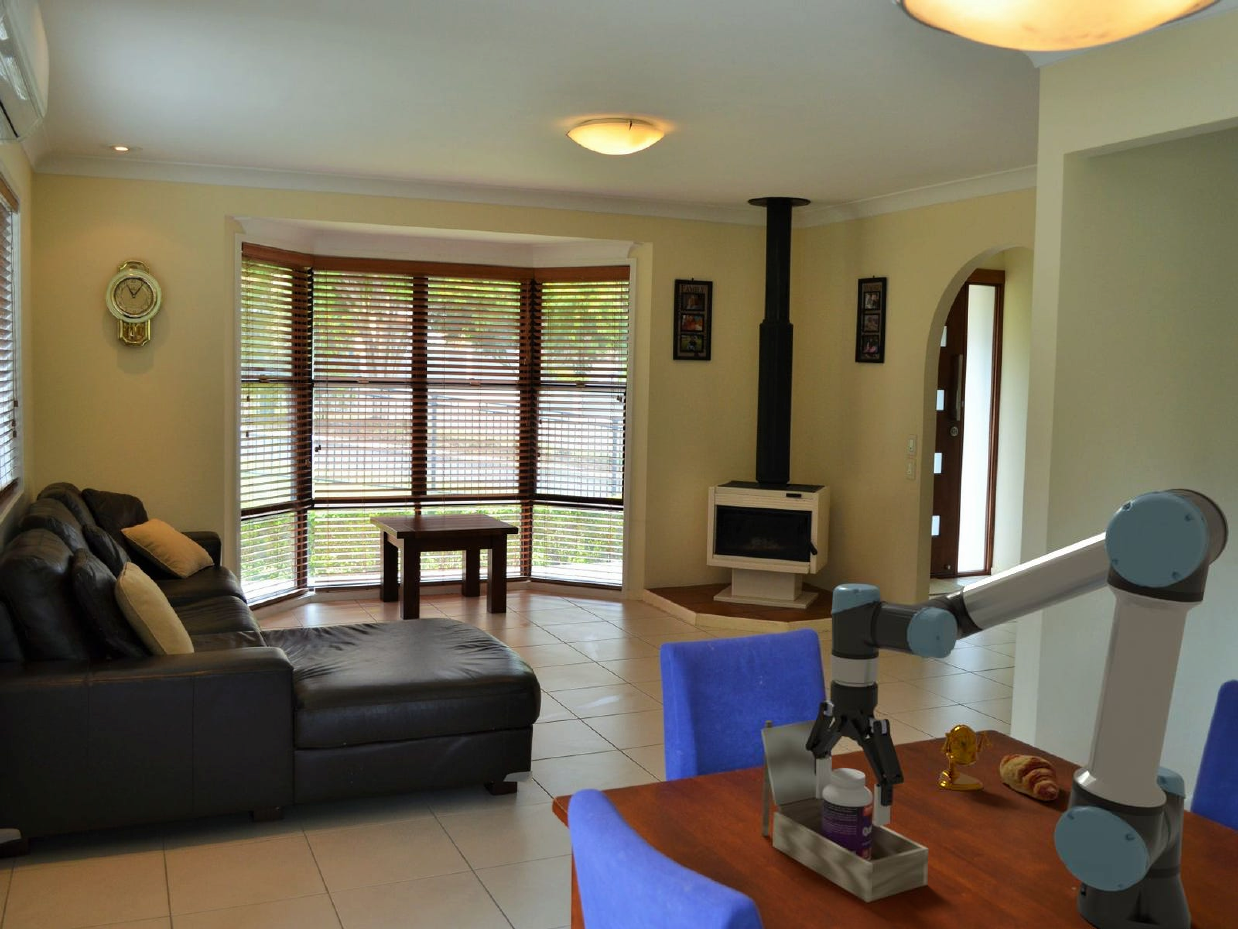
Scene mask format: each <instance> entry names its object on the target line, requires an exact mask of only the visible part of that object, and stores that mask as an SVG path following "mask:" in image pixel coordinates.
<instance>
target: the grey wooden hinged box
mask: <svg viewBox="0 0 1238 929" xmlns="http://www.w3.org/2000/svg"><path fill="white" fill-rule="evenodd" d="M815 721H816V719H812V720H807V721H801V722H795V723H789V724H785V725H778V726H774V724H773V721H772V720H765V726H764V728H762V729H760V732H761V737H762V743H763V749H764V756H763V757H764V759H763V761H764V762H763V787H762V788H763V789H762V793H763V794H762V816H761V817H762V819H761V835H762V836H763V837H768V836H770V812H771V811H770V808H771V807H770V806H771V794H772V799H773V805H774V806H775V807H776V806H777V811H776V812H773V825H772V826H773V827H772V828H773V829H772V830H773V833H772V847H774V848H775V849H777V850H778V851H780V852H782V853H783V854H786V855H787V856H789V857H790V858H792V859H794V860H796V861H797V862H799V863H800V864H802V865H804V866H805V867H807V868H808V869H811V870H812V871H814V872H816V873H817V874H819V875H821V876H822V877H823V878H825V879H827V880H829V881H830V882H833V883H834V884H836V885H837V886H839V887H841V888H842V889H844V890H845V891H847V892H849V893H851V894H852V895H854V896H856V897H858V898H859V899H861V900H862V901H864V902H866V903H871V902H873V901H876V900H879V899H883V898H887V897H889V896H893V895H897V894H899V893H903V892H906V891H910V890H913V889H916V888H921V887H924V886H926V885H928V871H929V870H928V869H929V866H928V864H929V848H928V847H927V846H924V845H922V844H920V843H918V842H916V841H914V840H912V839H910V838H908V837H906V836H904V835H902V834H900V833H898V832H896V831H894V830H892V829H890V828H888V827H886V826H885V825H882V826H878V827H877V826H874V820H872V838H871V859H870V861H869V862H868V861H866V860H865V859H863V858H861V857H859V856H857V855H855V854H854V853H852V852H850V851H848V850H846V849H845V848H843V847H841V846H839V845H837V844H835V843H834V842H832V841H830V840H828V839H826V838H824V837H823V836H821V830H822V798H820V799H818V798H816V775H815V772H814V769H815V768H814V766H815V757H814V756H813V753H812V752H811V751H807V750H806V743H807V741H808V738H809V736H810V733H811V731H812V729H813V726H814V724H815ZM826 757H828V755H826ZM831 783H832V782H831Z"/></svg>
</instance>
